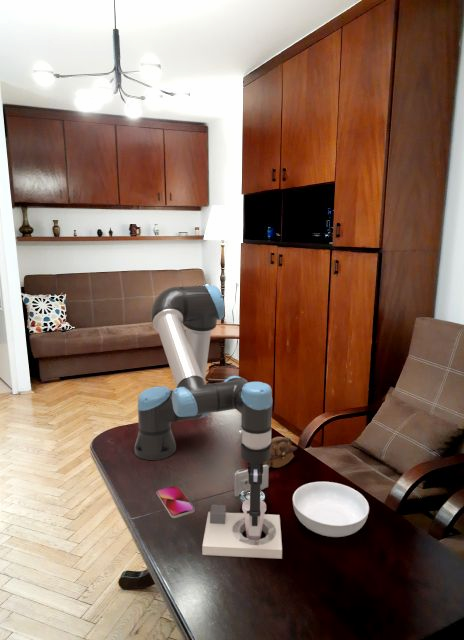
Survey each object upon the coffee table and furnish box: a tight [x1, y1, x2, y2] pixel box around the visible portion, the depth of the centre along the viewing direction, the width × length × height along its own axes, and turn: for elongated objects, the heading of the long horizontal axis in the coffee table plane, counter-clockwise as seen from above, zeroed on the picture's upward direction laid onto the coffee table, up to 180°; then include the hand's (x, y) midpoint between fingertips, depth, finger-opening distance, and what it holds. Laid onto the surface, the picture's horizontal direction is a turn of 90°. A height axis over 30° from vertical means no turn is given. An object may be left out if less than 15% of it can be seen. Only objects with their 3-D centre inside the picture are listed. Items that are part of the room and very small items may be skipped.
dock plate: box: [201, 504, 283, 560], centre depth 119 cm, size 14×20×6 cm
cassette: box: [233, 464, 270, 497], centre depth 140 cm, size 12×2×8 cm, turn 118°
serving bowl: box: [292, 481, 370, 538], centre depth 125 cm, size 21×21×7 cm
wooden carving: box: [263, 436, 298, 468], centre depth 155 cm, size 16×5×10 cm, turn 128°
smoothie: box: [241, 498, 267, 540], centre depth 118 cm, size 6×6×14 cm
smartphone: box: [155, 485, 196, 519], centre depth 135 cm, size 7×1×15 cm
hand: (254, 517), depth 118 cm, fingers open, 13 cm apart
